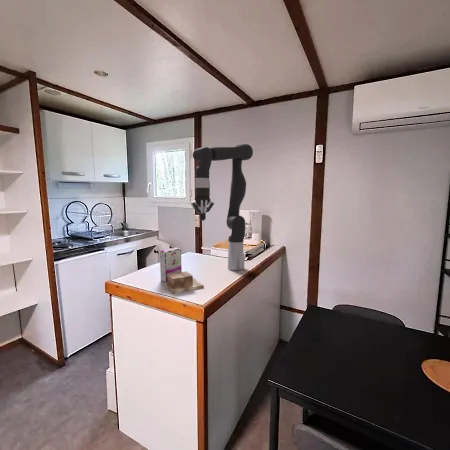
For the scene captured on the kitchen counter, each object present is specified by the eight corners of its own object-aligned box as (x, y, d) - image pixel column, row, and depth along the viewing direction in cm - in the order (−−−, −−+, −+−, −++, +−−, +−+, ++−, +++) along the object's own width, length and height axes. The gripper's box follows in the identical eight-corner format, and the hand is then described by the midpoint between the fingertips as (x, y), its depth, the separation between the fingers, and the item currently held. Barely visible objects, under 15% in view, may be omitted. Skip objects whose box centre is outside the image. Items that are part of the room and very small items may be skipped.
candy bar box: (175, 275, 144) (175, 247, 142) (182, 277, 141) (181, 248, 139) (159, 280, 135) (159, 250, 133) (166, 282, 132) (165, 251, 130)
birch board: (194, 280, 136) (194, 278, 136) (203, 287, 126) (203, 285, 126) (164, 285, 128) (164, 283, 128) (172, 293, 118) (172, 291, 118)
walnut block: (186, 271, 131) (167, 274, 126) (192, 275, 124) (172, 278, 119) (186, 280, 132) (167, 284, 127) (192, 285, 125) (173, 289, 120)
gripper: (210, 187, 139) (210, 219, 141) (187, 187, 133) (188, 220, 135) (217, 187, 133) (217, 220, 135) (193, 186, 126) (193, 221, 128)
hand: (202, 220), depth 135 cm, fingers closed
